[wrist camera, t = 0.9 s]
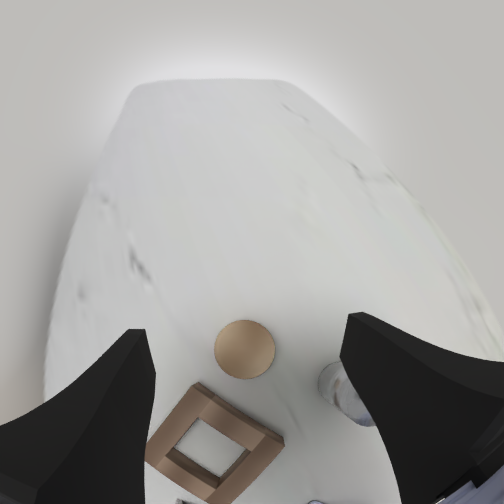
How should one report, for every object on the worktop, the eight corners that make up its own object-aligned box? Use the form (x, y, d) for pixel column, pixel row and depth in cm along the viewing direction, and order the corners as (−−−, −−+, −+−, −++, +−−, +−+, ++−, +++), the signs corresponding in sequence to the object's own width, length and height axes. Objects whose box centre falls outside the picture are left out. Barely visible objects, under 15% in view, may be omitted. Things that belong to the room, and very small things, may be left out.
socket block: (282, 437, 21) (285, 446, 19) (225, 498, 19) (222, 510, 17) (198, 382, 23) (191, 385, 21) (147, 446, 21) (137, 454, 19)
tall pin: (366, 374, 23) (412, 383, 14) (343, 409, 22) (379, 435, 13) (333, 354, 24) (368, 356, 15) (309, 389, 23) (333, 410, 14)
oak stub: (283, 342, 25) (286, 342, 21) (253, 384, 23) (251, 390, 20) (240, 313, 26) (237, 308, 22) (210, 354, 24) (202, 355, 21)
